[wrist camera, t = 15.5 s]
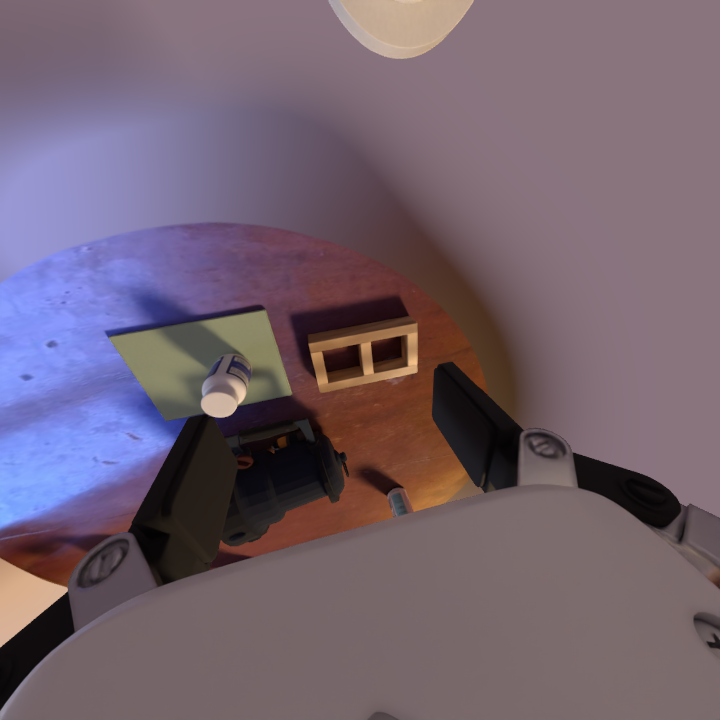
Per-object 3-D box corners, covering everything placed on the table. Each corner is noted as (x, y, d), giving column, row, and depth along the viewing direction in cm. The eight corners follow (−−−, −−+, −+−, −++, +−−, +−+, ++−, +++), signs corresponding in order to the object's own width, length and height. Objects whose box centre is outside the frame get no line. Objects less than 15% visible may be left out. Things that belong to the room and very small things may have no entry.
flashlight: (249, 486, 53) (193, 419, 42) (345, 448, 55) (316, 375, 44) (241, 569, 40) (160, 504, 30) (366, 514, 43) (332, 436, 32)
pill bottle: (220, 384, 40) (202, 425, 32) (209, 355, 37) (186, 391, 29) (256, 379, 40) (246, 417, 33) (248, 350, 38) (235, 384, 30)
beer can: (396, 499, 66) (413, 552, 56) (382, 495, 64) (398, 549, 54) (408, 488, 65) (429, 540, 55) (395, 484, 63) (414, 536, 53)
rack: (307, 334, 39) (308, 343, 36) (409, 315, 41) (417, 322, 38) (318, 382, 44) (320, 393, 41) (410, 363, 46) (417, 372, 43)
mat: (110, 335, 34) (107, 337, 33) (265, 308, 36) (265, 310, 35) (167, 419, 41) (165, 421, 41) (292, 392, 44) (292, 394, 43)
